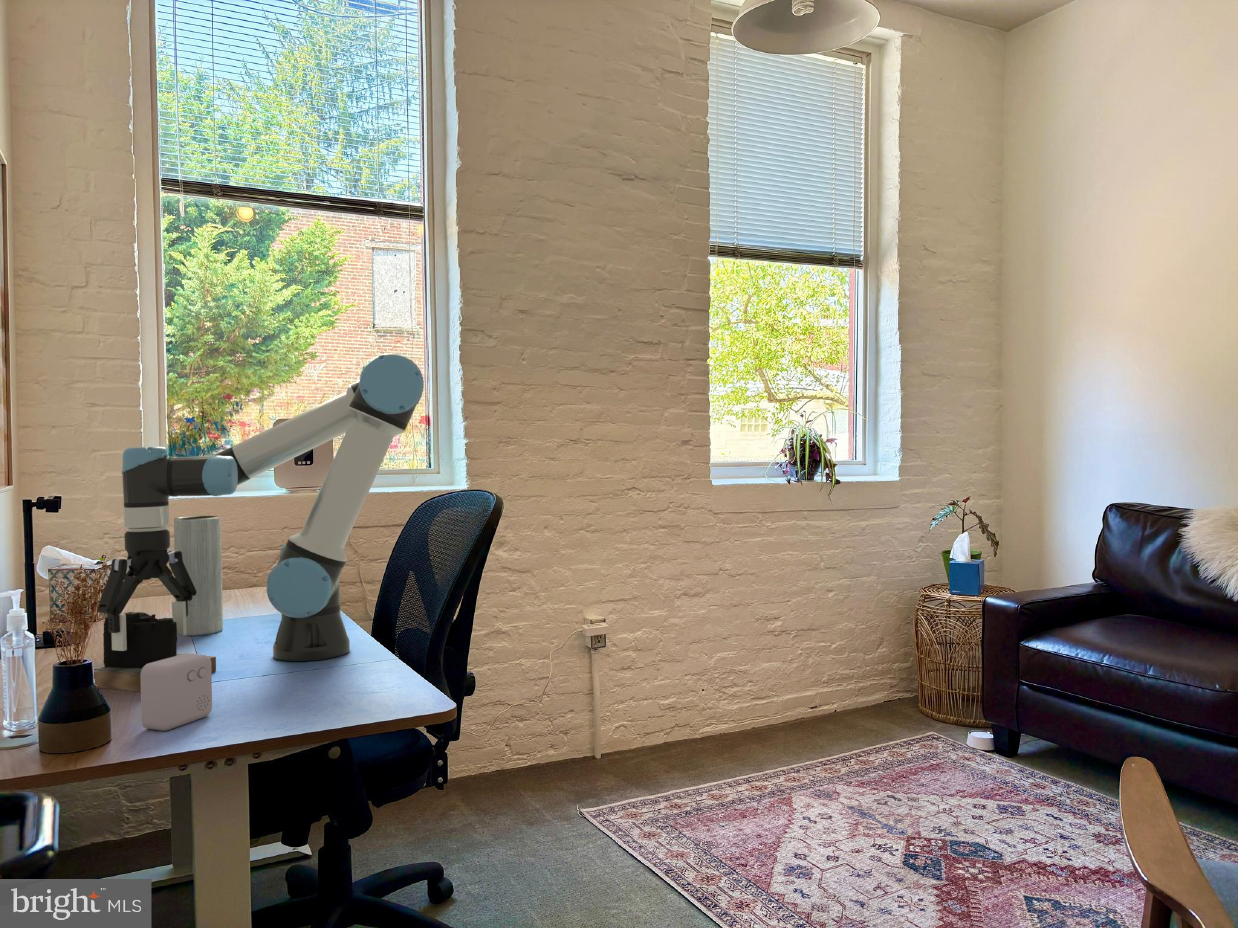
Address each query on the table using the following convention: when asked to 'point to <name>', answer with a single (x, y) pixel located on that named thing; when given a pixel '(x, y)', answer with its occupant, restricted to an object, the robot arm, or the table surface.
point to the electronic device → (175, 691)
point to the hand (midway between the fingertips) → (150, 642)
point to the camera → (142, 641)
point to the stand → (125, 676)
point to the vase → (202, 571)
